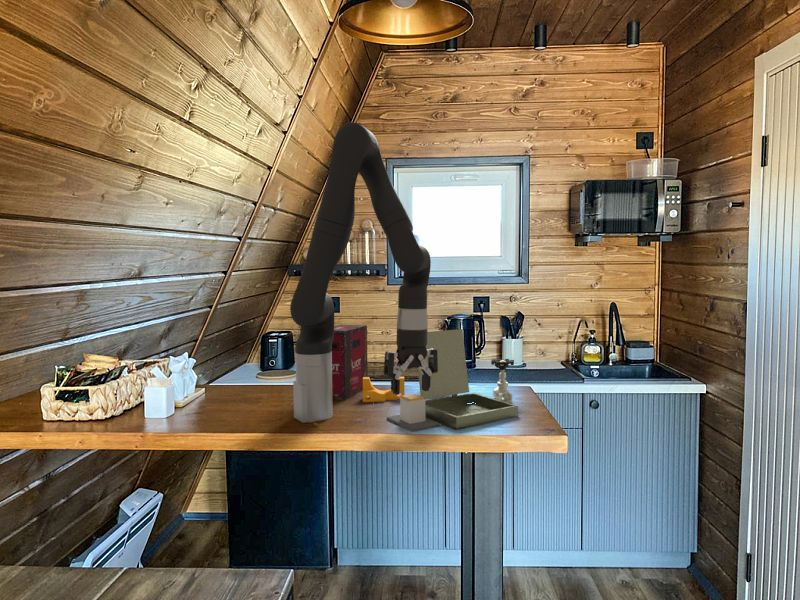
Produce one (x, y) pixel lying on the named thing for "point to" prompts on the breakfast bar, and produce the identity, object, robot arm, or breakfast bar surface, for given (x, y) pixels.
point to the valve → (502, 381)
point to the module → (412, 408)
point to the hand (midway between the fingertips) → (410, 392)
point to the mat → (414, 426)
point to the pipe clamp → (379, 392)
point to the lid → (446, 364)
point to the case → (468, 410)
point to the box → (349, 360)
